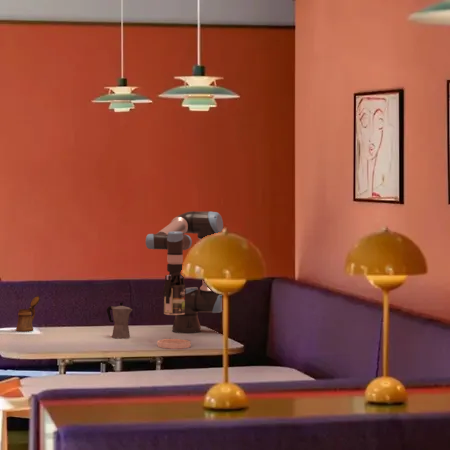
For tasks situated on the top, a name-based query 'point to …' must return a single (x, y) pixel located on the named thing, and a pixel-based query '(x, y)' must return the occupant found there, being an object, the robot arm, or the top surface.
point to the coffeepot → (120, 321)
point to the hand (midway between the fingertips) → (174, 309)
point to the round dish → (174, 343)
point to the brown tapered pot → (27, 317)
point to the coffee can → (176, 301)
